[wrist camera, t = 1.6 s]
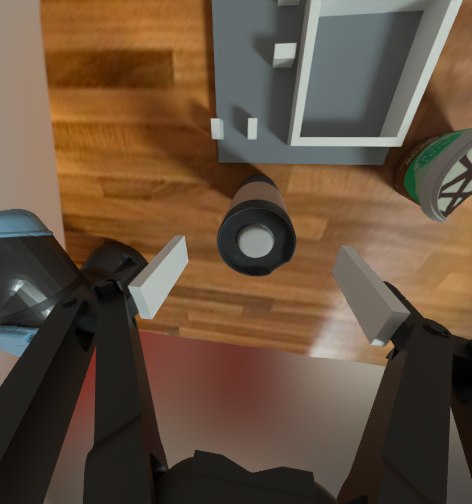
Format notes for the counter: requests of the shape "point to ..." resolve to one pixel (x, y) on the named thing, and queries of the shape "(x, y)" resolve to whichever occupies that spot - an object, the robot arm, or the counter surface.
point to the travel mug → (256, 229)
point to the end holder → (412, 78)
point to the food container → (437, 173)
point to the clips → (281, 59)
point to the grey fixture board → (319, 86)
